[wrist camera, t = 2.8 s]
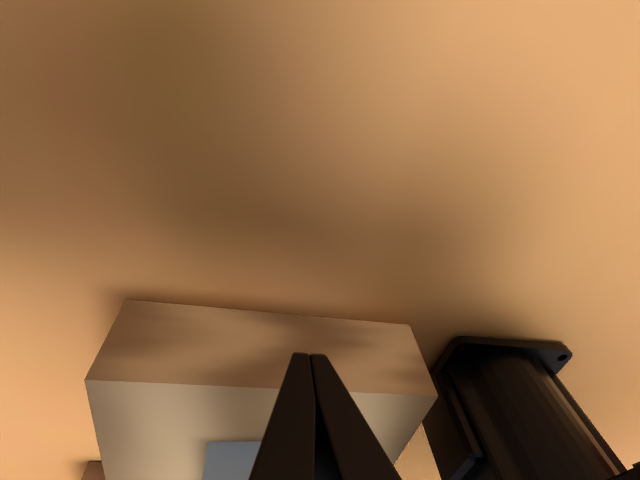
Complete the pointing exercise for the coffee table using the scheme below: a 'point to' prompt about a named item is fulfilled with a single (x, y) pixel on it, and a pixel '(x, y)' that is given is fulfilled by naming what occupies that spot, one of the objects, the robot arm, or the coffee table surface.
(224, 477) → the light blue square block
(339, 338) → the beige rectangular block
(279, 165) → the coffee table surface
